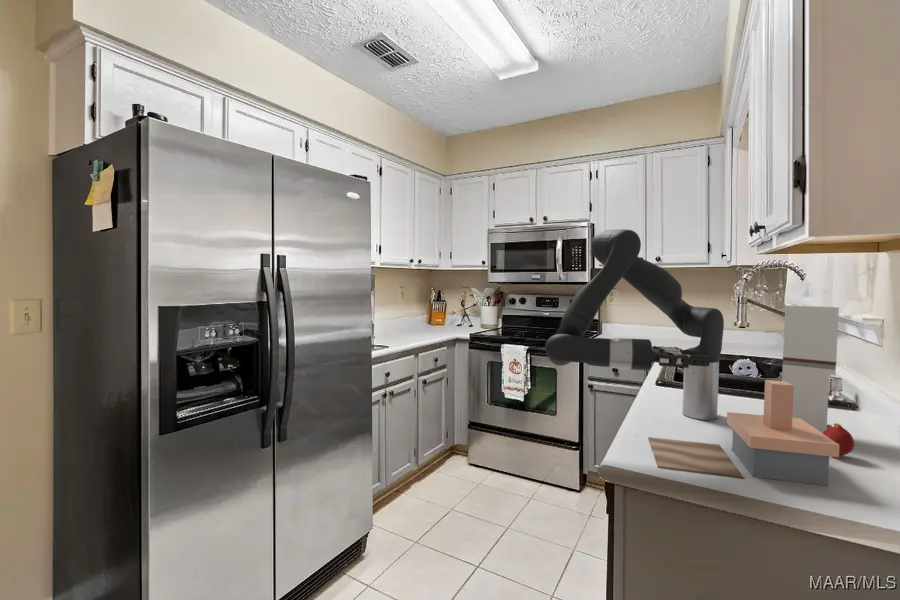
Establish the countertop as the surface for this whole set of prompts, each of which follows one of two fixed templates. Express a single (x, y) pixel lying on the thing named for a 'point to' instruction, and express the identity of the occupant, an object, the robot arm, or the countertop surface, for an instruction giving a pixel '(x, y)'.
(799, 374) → the white tall block
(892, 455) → the countertop surface
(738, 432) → the lid
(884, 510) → the countertop surface
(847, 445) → the pomegranate
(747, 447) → the storage box
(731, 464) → the board
